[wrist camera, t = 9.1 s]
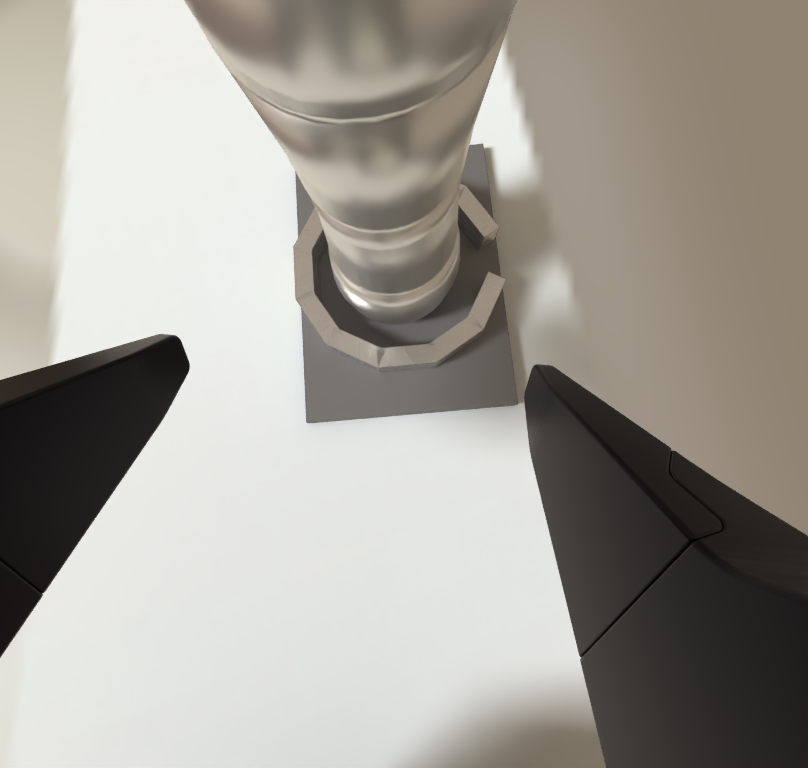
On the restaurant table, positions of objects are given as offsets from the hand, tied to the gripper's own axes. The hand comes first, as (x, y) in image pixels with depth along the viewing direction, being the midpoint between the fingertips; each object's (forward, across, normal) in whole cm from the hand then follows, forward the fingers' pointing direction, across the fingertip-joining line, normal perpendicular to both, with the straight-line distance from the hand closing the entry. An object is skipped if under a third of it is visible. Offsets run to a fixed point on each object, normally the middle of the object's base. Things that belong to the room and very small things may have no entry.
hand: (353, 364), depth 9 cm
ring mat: (+13, 0, +3) cm, 13 cm away
